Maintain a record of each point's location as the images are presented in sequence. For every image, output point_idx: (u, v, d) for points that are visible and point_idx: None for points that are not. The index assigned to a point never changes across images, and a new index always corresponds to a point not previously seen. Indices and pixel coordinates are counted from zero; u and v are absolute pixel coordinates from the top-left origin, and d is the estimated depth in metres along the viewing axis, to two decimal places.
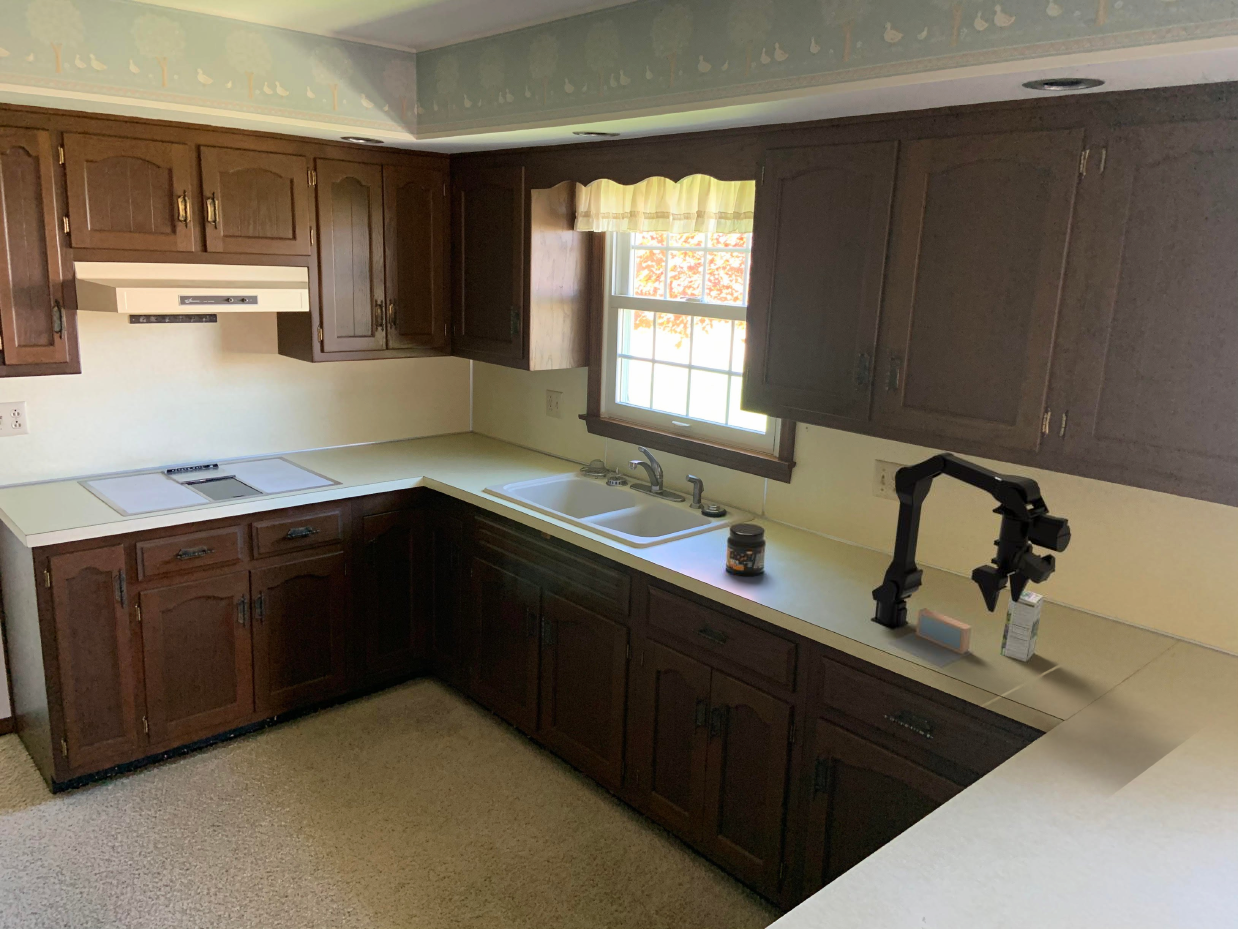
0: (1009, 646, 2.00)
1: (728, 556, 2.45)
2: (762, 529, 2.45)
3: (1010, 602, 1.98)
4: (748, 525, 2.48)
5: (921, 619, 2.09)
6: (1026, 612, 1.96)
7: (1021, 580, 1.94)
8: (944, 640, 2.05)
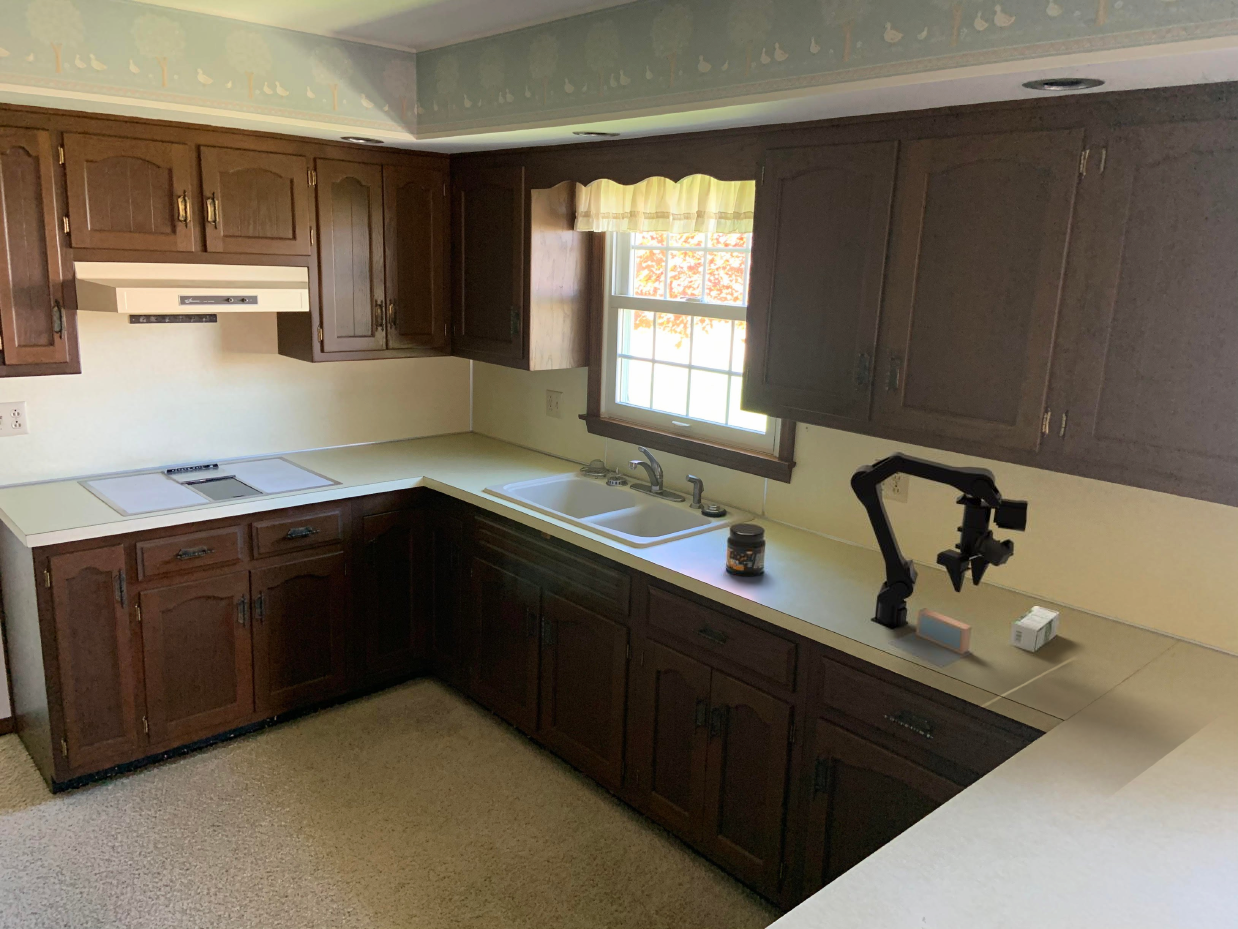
0: (1024, 621, 2.06)
1: (728, 556, 2.45)
2: (762, 529, 2.45)
3: (1035, 607, 2.14)
4: (748, 525, 2.48)
5: (921, 619, 2.09)
6: (1048, 613, 2.11)
7: (981, 565, 2.08)
8: (944, 640, 2.05)
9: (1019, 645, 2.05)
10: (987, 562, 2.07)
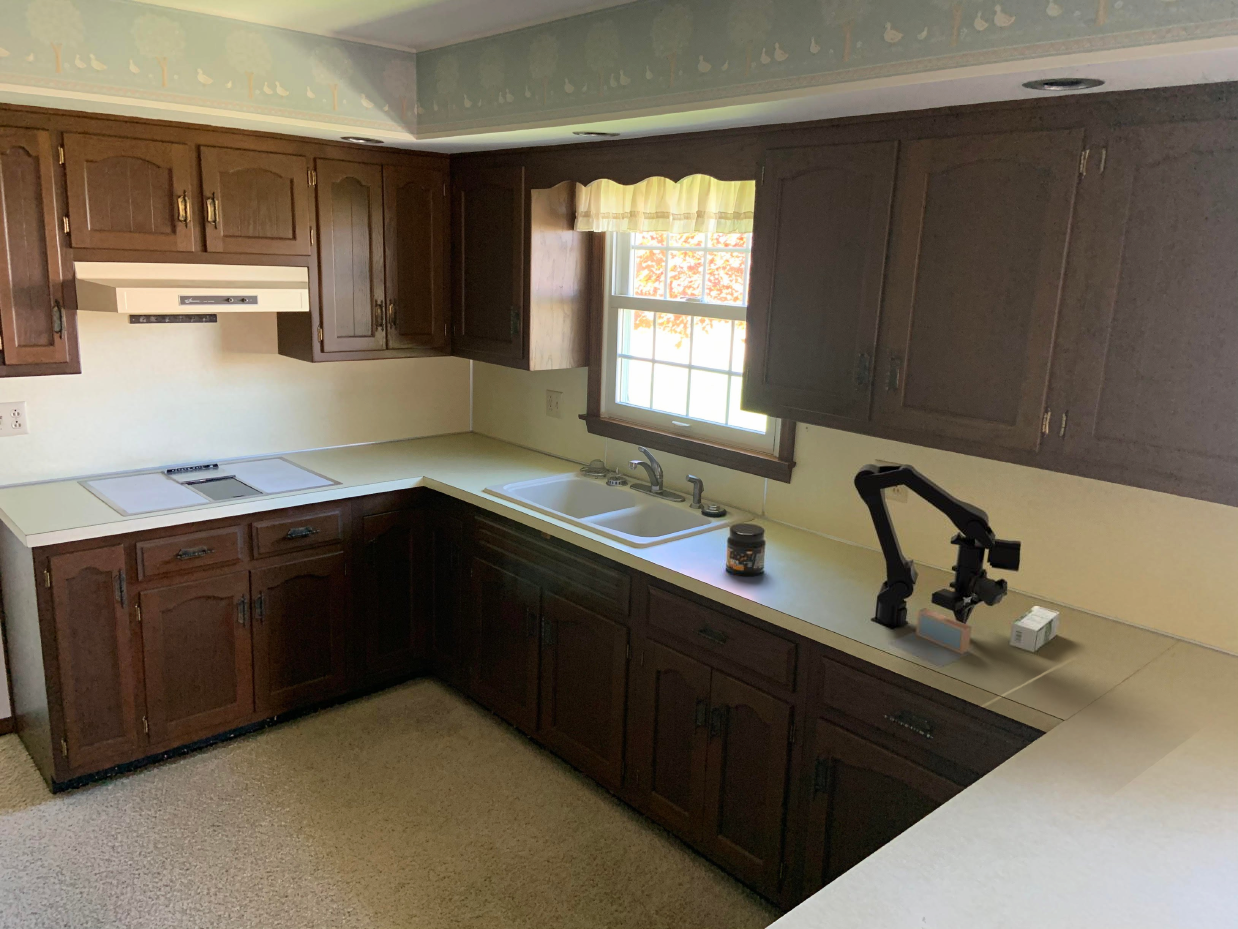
0: (1024, 621, 2.06)
1: (728, 556, 2.45)
2: (762, 529, 2.45)
3: (1035, 607, 2.14)
4: (748, 525, 2.48)
5: (921, 619, 2.09)
6: (1048, 613, 2.11)
7: None
8: (944, 640, 2.05)
9: (1019, 645, 2.05)
10: (973, 604, 2.08)
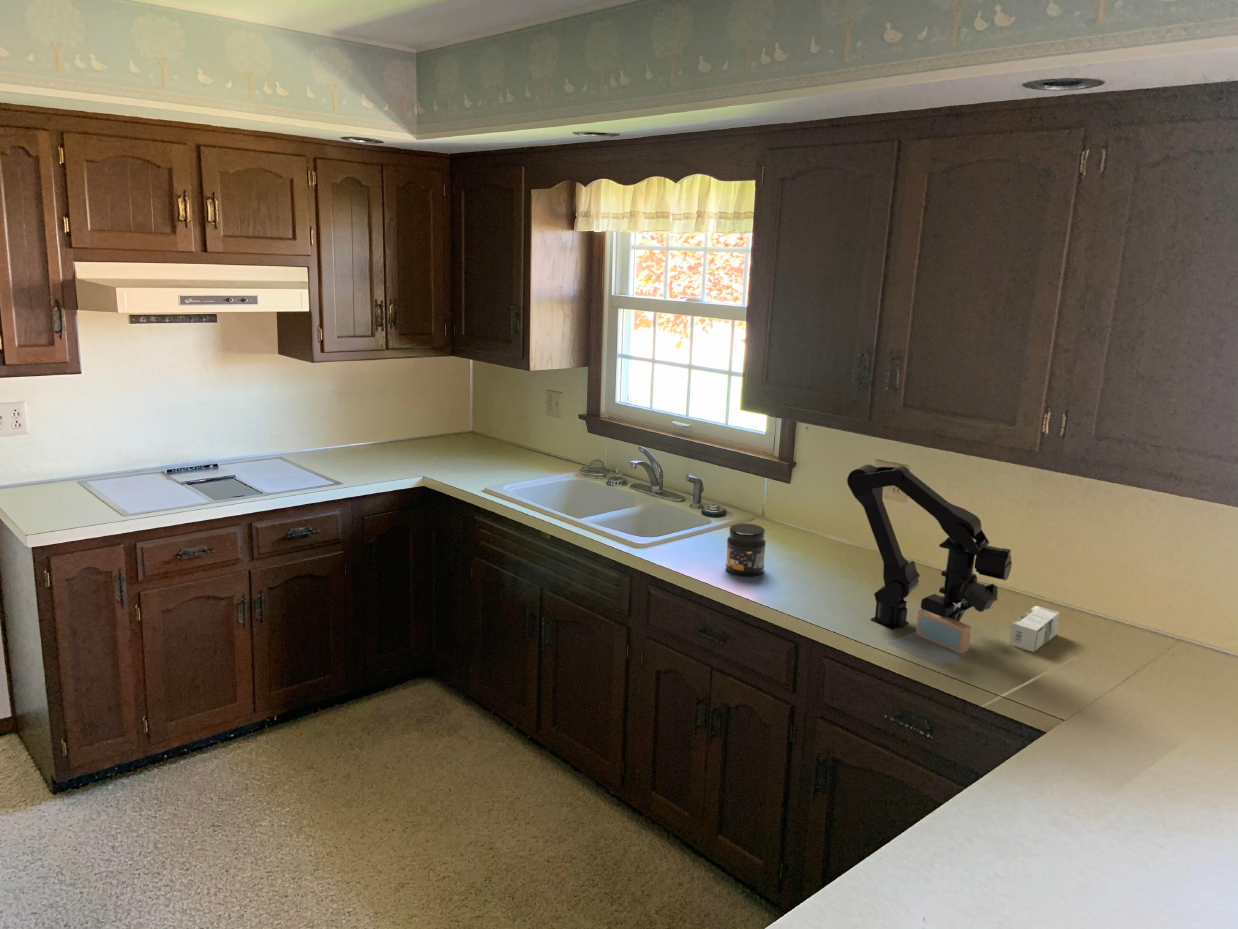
0: (1024, 621, 2.06)
1: (728, 556, 2.45)
2: (762, 529, 2.45)
3: (1035, 607, 2.14)
4: (748, 525, 2.48)
5: (921, 619, 2.09)
6: (1048, 613, 2.11)
7: None
8: (943, 640, 2.05)
9: (1019, 645, 2.05)
10: None
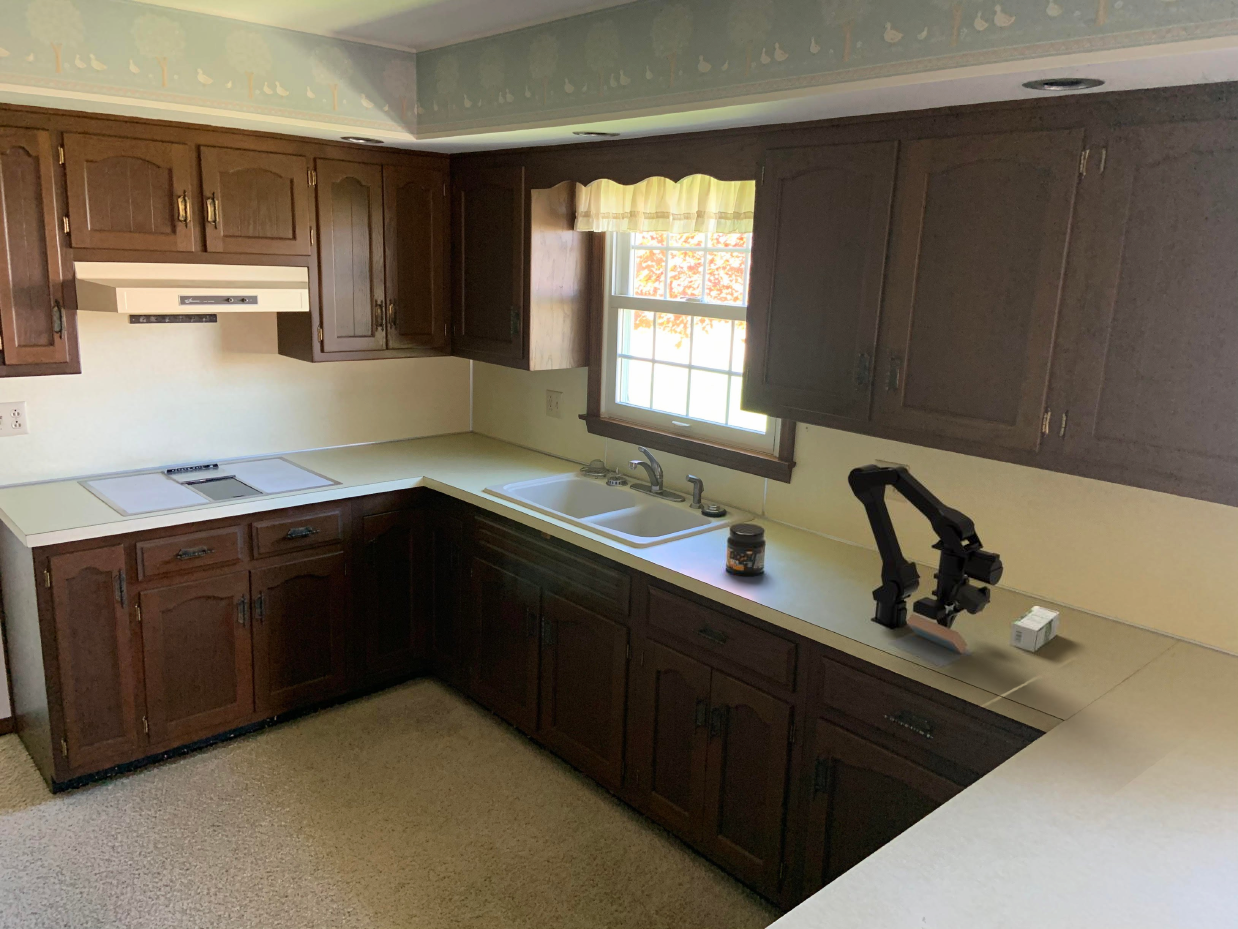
0: (1024, 621, 2.06)
1: (728, 556, 2.45)
2: (762, 529, 2.45)
3: (1035, 607, 2.14)
4: (748, 525, 2.48)
5: (912, 627, 2.07)
6: (1048, 613, 2.11)
7: None
8: (941, 643, 2.04)
9: (1019, 645, 2.05)
10: (955, 612, 2.04)
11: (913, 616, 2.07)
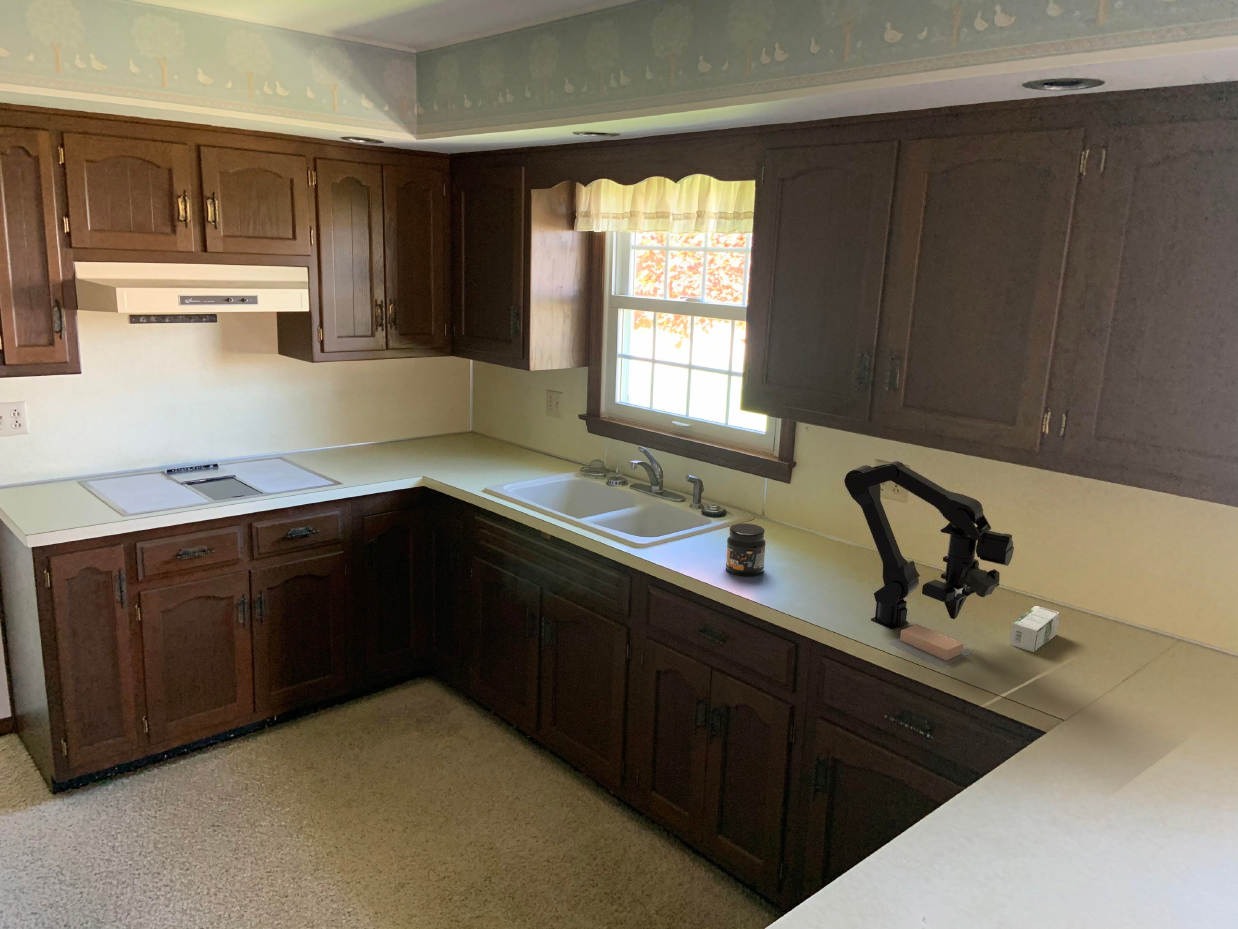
0: (1024, 621, 2.06)
1: (728, 556, 2.45)
2: (762, 529, 2.45)
3: (1035, 607, 2.14)
4: (748, 525, 2.48)
5: None
6: (1048, 613, 2.11)
7: None
8: None
9: (1019, 645, 2.05)
10: (965, 595, 2.04)
11: (903, 633, 2.06)
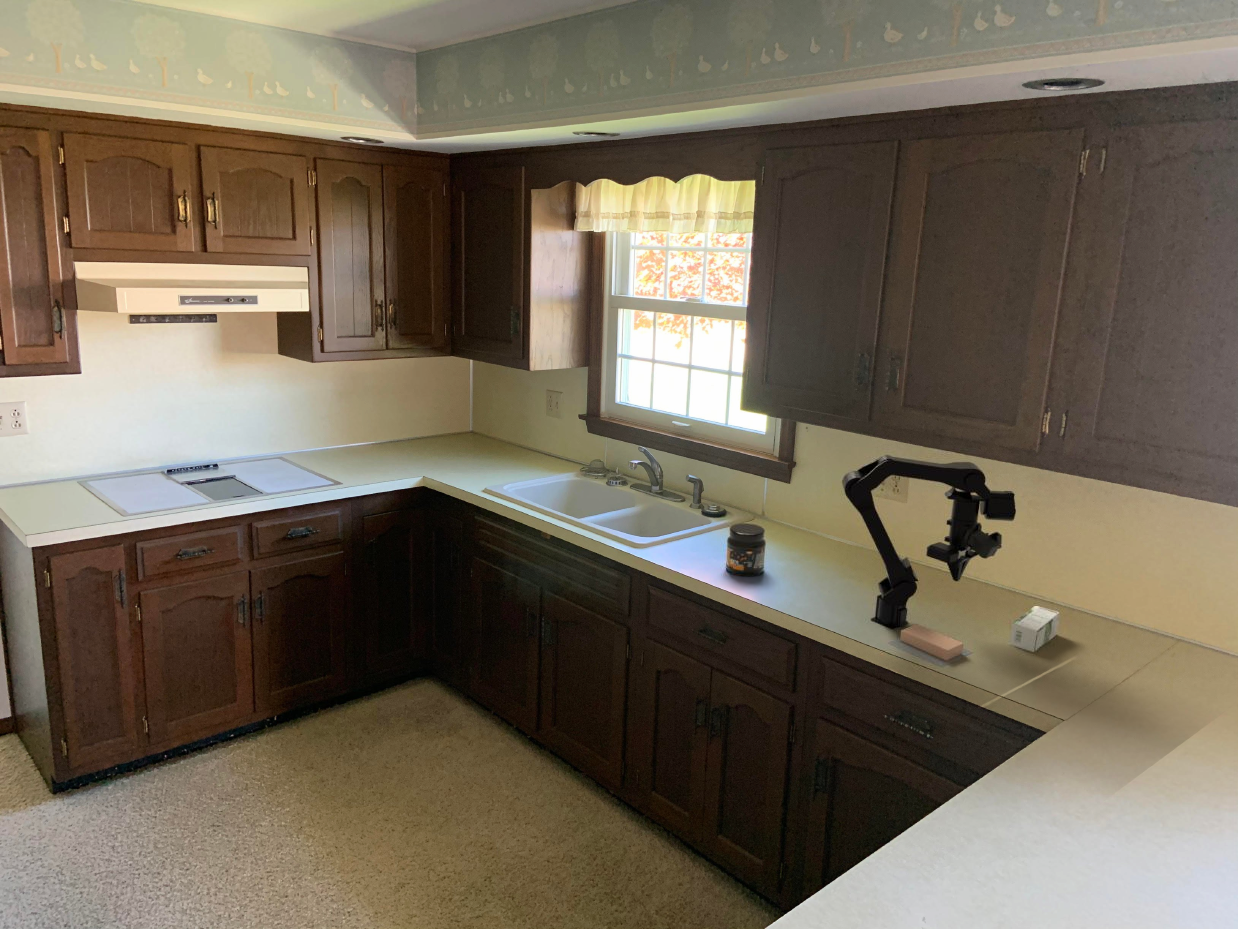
0: (1024, 621, 2.06)
1: (728, 556, 2.45)
2: (762, 529, 2.45)
3: (1035, 607, 2.14)
4: (748, 525, 2.48)
5: None
6: (1048, 613, 2.11)
7: None
8: None
9: (1019, 645, 2.05)
10: None
11: (903, 633, 2.06)
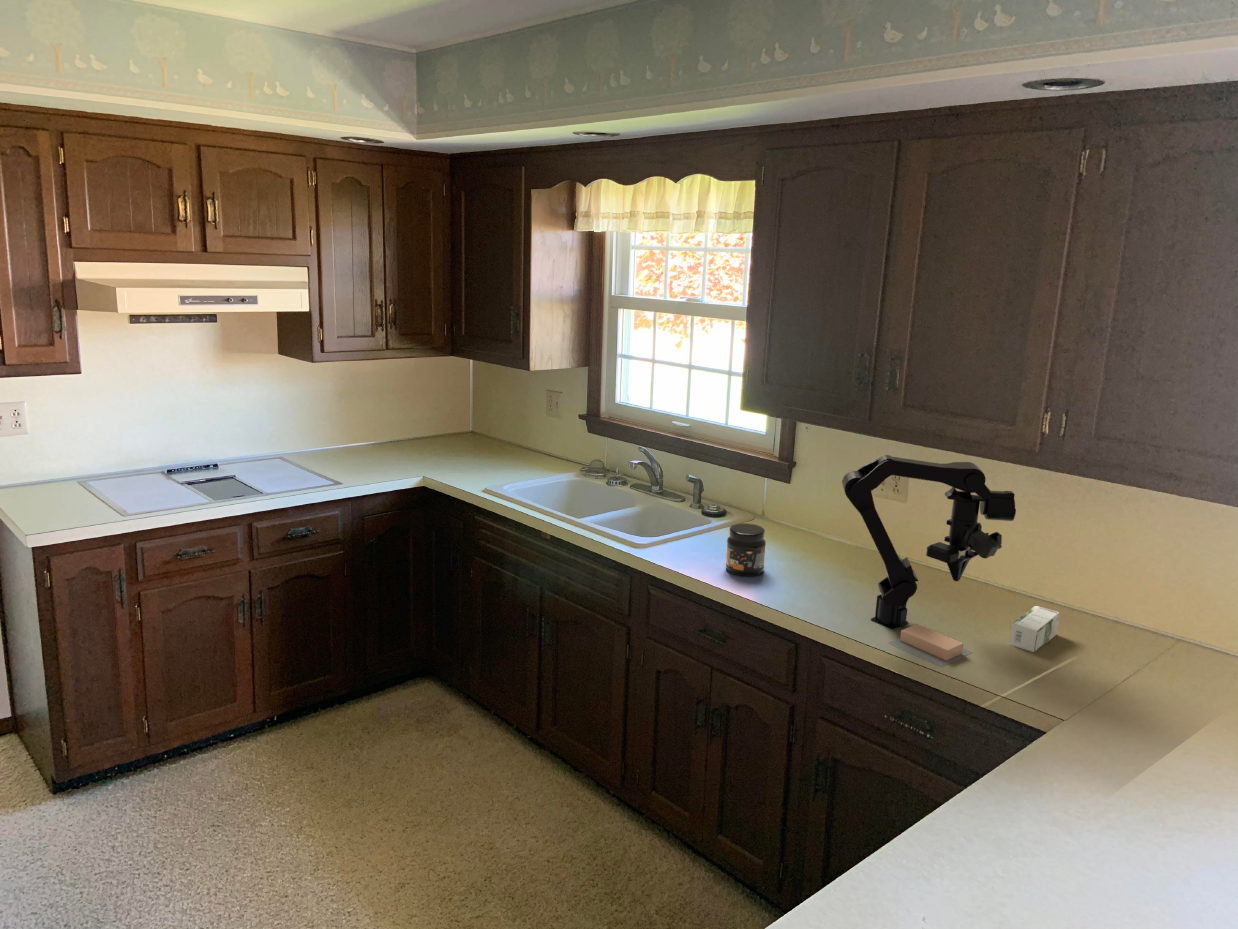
0: (1024, 621, 2.06)
1: (728, 556, 2.45)
2: (762, 529, 2.45)
3: (1035, 607, 2.14)
4: (748, 525, 2.48)
5: None
6: (1048, 613, 2.11)
7: None
8: None
9: (1019, 645, 2.05)
10: None
11: (903, 633, 2.06)
